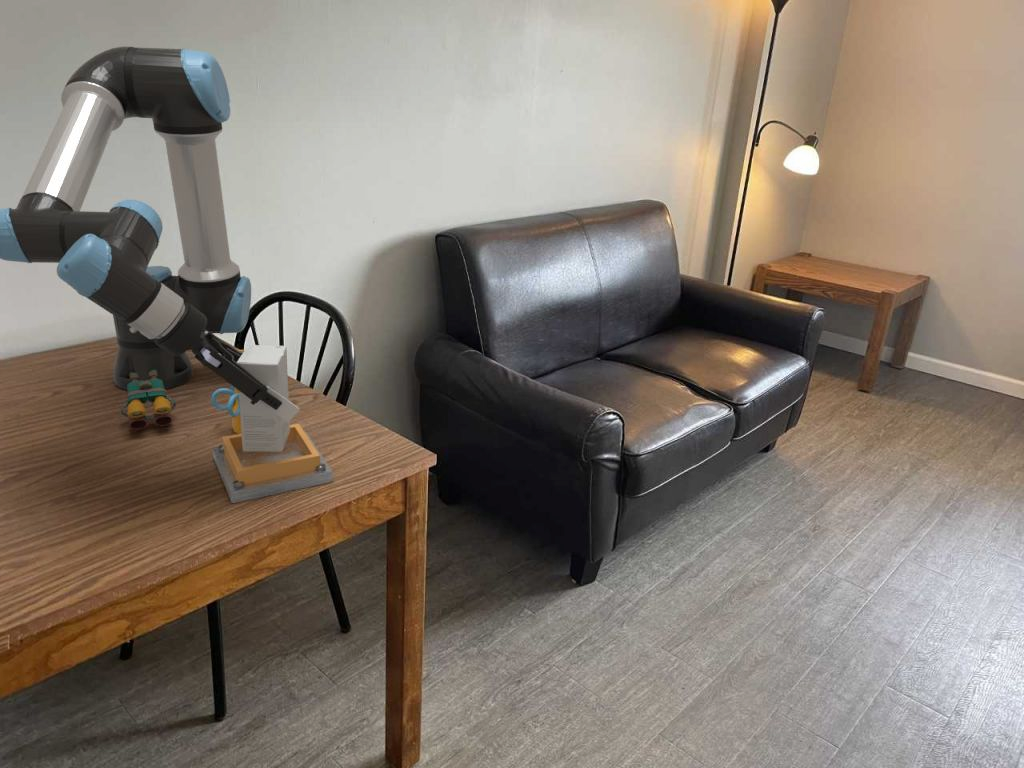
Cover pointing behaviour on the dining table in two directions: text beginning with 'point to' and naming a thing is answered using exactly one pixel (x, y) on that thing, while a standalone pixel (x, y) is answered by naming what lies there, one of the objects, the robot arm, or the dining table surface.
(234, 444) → the frame
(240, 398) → the skincare box
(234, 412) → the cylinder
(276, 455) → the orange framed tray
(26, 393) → the dining table surface
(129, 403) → the binoculars
